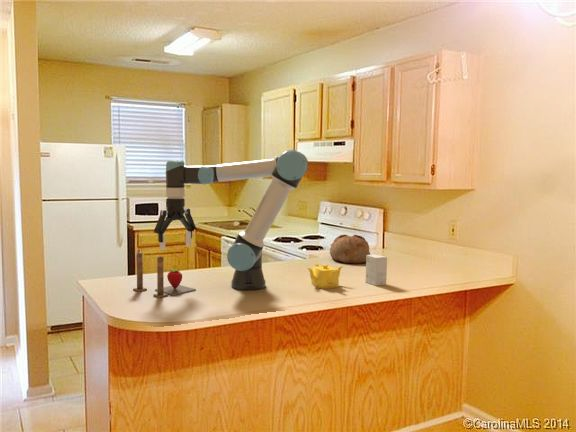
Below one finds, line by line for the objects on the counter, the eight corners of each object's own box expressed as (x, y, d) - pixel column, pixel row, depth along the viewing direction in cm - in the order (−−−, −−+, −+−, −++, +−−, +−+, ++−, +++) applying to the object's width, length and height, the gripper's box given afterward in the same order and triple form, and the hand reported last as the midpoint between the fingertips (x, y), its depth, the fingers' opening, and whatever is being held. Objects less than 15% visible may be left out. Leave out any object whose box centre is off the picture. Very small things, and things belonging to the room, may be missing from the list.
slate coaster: (195, 290, 213) (195, 289, 213) (173, 295, 204) (173, 294, 204) (177, 285, 220) (177, 284, 220) (155, 290, 211) (155, 289, 211)
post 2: (167, 296, 203) (167, 257, 201) (159, 298, 200) (159, 258, 198) (161, 294, 205) (161, 256, 204) (153, 296, 202) (153, 257, 201)
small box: (386, 284, 231) (387, 257, 230) (375, 286, 228) (376, 257, 227) (376, 281, 238) (377, 254, 237) (365, 282, 235) (366, 254, 234)
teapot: (314, 280, 236) (315, 260, 235) (343, 283, 231) (344, 263, 230) (304, 287, 223) (305, 266, 222) (335, 291, 218) (336, 269, 217)
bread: (372, 265, 278) (373, 238, 277) (330, 264, 279) (331, 237, 278) (367, 256, 304) (368, 232, 303) (329, 255, 305) (329, 231, 304)
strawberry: (172, 291, 208) (172, 268, 207) (164, 288, 213) (164, 265, 212) (185, 289, 211) (185, 266, 210) (176, 286, 217) (176, 263, 216)
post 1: (146, 290, 211) (146, 253, 210) (138, 292, 208) (138, 254, 207) (141, 288, 214) (140, 251, 212) (133, 290, 211) (132, 253, 209)
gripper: (192, 196, 220) (192, 243, 222) (144, 198, 201) (145, 250, 203) (204, 197, 216) (204, 245, 218) (156, 199, 196) (156, 252, 198)
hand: (175, 248), depth 210 cm, fingers open, 13 cm apart
